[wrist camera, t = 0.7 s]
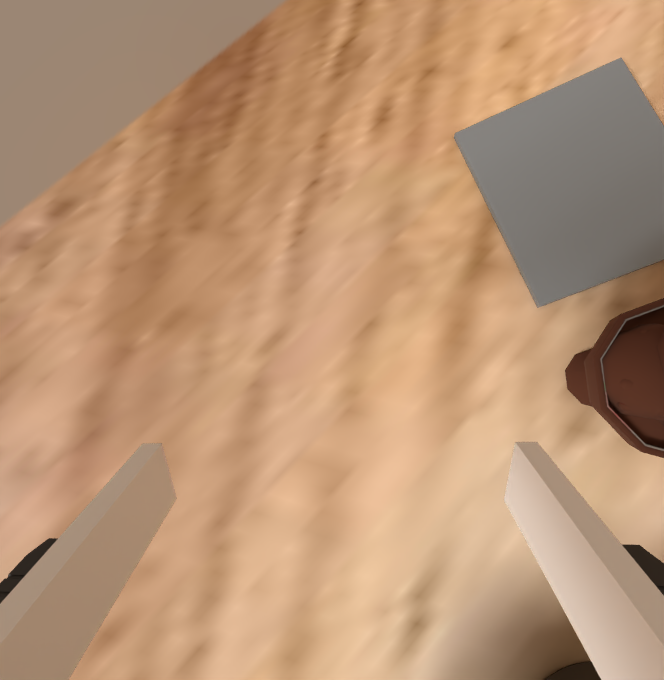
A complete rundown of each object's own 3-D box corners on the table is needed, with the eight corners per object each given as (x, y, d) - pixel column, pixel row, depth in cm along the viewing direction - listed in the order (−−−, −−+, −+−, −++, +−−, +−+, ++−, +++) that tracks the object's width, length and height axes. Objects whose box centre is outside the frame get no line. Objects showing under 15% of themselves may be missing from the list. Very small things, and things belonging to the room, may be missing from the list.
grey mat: (724, 236, 30) (730, 234, 30) (537, 307, 32) (540, 306, 32) (617, 63, 33) (621, 57, 33) (453, 137, 35) (454, 133, 35)
